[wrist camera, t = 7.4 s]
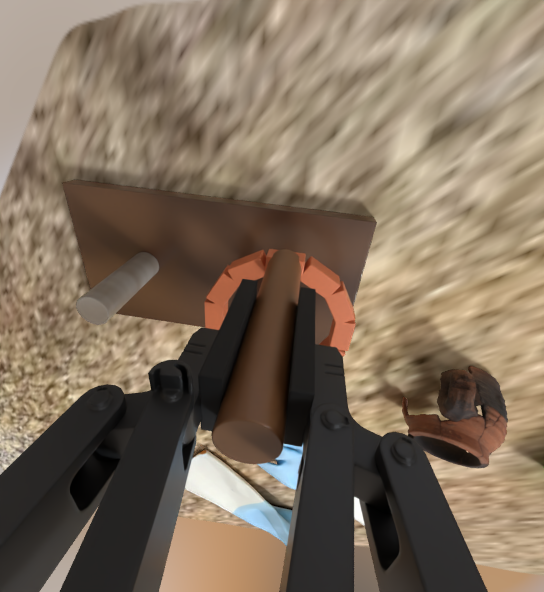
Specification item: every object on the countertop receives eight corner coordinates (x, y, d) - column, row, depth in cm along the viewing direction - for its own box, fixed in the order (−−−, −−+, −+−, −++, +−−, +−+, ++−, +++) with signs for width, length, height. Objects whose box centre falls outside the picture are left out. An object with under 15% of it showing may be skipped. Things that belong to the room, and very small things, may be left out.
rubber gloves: (275, 397, 37) (267, 445, 32) (438, 508, 45) (454, 562, 40) (169, 471, 50) (151, 515, 45) (311, 548, 58) (311, 593, 53)
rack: (74, 179, 26) (-35, 207, 18) (373, 216, 25) (402, 266, 16) (104, 303, 33) (35, 363, 25) (340, 338, 31) (348, 416, 23)
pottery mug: (505, 406, 34) (501, 484, 30) (414, 385, 39) (400, 448, 35) (517, 349, 26) (513, 442, 22) (402, 332, 32) (382, 405, 28)
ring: (208, 234, 20) (66, 389, 9) (370, 256, 20) (446, 454, 8) (211, 357, 26) (128, 547, 15) (335, 377, 25) (351, 593, 14)
